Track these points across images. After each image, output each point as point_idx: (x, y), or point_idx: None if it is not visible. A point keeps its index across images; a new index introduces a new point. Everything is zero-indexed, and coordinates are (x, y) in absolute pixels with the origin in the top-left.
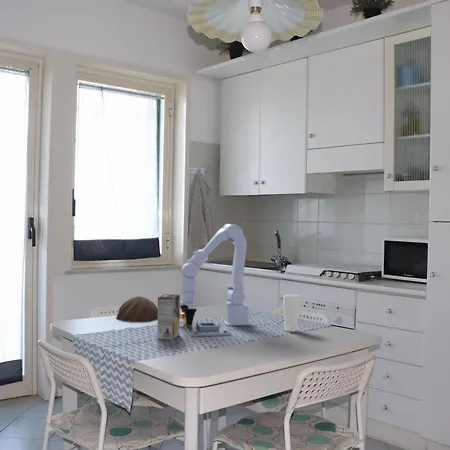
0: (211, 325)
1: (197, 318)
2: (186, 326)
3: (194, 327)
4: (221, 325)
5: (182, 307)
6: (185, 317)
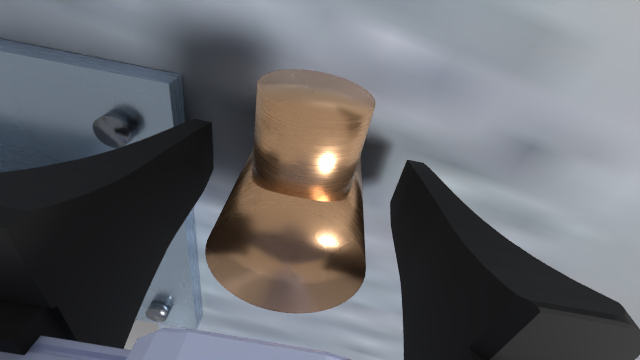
0: None
1: None
2: (132, 87)
3: (82, 148)
4: (177, 322)
5: (478, 297)
6: (250, 168)
